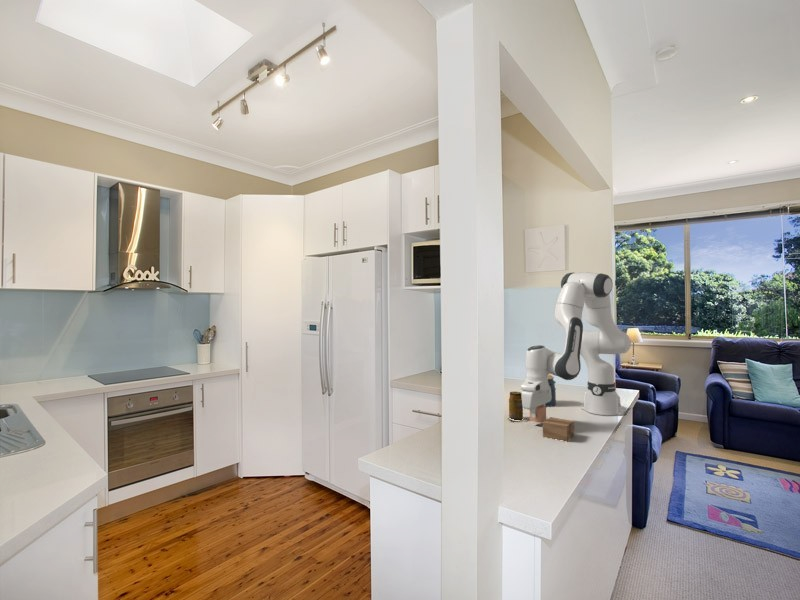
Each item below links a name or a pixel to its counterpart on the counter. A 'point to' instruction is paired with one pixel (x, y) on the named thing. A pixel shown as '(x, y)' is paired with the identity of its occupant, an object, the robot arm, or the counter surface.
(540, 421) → the terracotta cube
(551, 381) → the canister
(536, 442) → the counter surface
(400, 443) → the counter surface
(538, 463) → the counter surface
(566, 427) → the walnut box
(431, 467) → the counter surface
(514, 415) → the condiment
